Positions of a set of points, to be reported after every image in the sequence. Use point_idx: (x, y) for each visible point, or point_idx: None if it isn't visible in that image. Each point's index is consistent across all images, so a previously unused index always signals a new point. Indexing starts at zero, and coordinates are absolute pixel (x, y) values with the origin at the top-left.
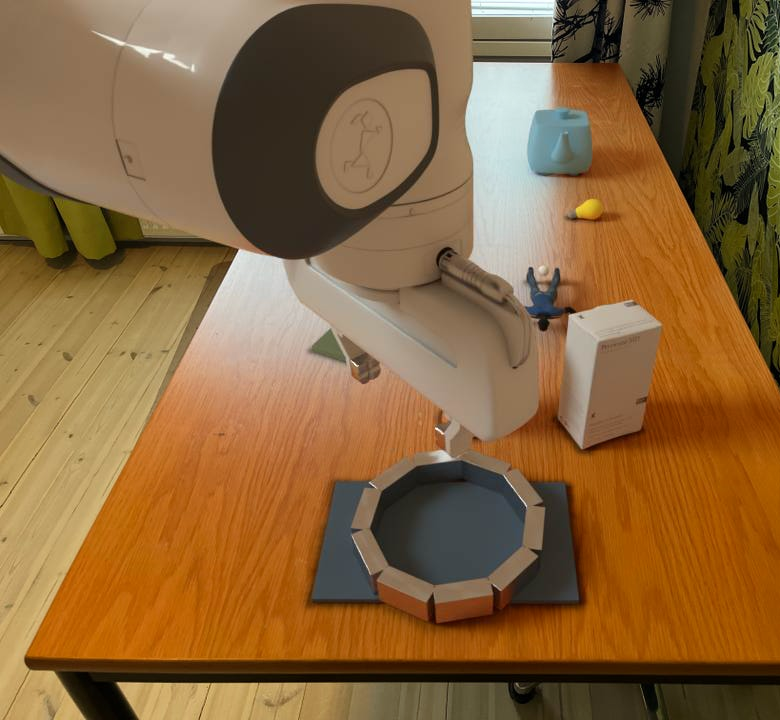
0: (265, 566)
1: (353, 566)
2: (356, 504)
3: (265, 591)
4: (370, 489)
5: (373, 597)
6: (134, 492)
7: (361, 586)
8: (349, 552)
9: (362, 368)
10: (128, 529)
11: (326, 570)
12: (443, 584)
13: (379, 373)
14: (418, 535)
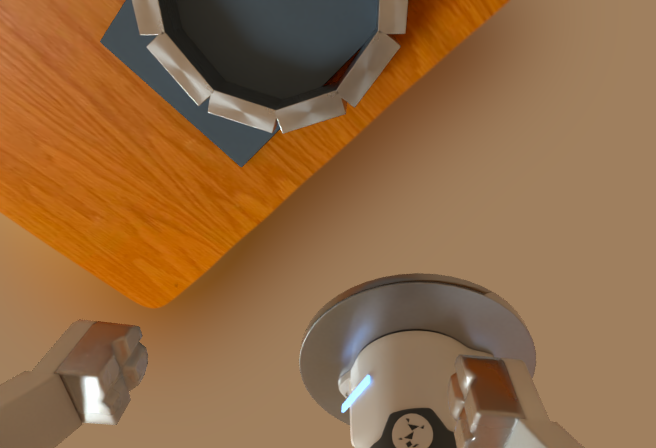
0: (175, 171)
1: None
2: None
3: (203, 186)
4: (154, 43)
5: None
6: (13, 208)
7: None
8: None
9: (121, 404)
10: (62, 231)
11: (220, 137)
12: (343, 81)
13: (134, 329)
14: (245, 22)
